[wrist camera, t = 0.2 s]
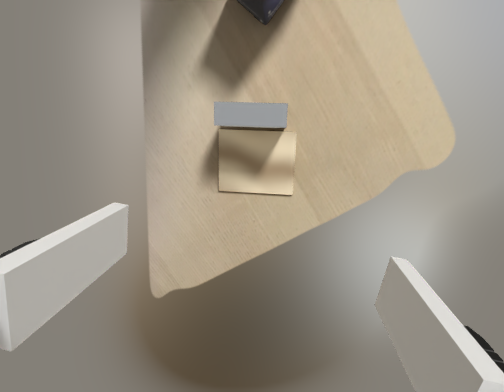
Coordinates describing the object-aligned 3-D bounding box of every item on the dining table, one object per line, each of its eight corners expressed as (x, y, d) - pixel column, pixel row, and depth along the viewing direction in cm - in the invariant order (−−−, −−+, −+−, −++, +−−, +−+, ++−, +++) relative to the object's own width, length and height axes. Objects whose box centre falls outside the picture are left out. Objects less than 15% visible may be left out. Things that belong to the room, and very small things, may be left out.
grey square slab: (229, 105, 40) (214, 101, 31) (287, 107, 39) (287, 103, 30) (229, 124, 40) (214, 126, 32) (286, 126, 40) (286, 128, 31)
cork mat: (219, 129, 41) (218, 129, 40) (296, 131, 39) (296, 132, 39) (219, 190, 43) (218, 190, 43) (292, 194, 42) (292, 194, 41)
